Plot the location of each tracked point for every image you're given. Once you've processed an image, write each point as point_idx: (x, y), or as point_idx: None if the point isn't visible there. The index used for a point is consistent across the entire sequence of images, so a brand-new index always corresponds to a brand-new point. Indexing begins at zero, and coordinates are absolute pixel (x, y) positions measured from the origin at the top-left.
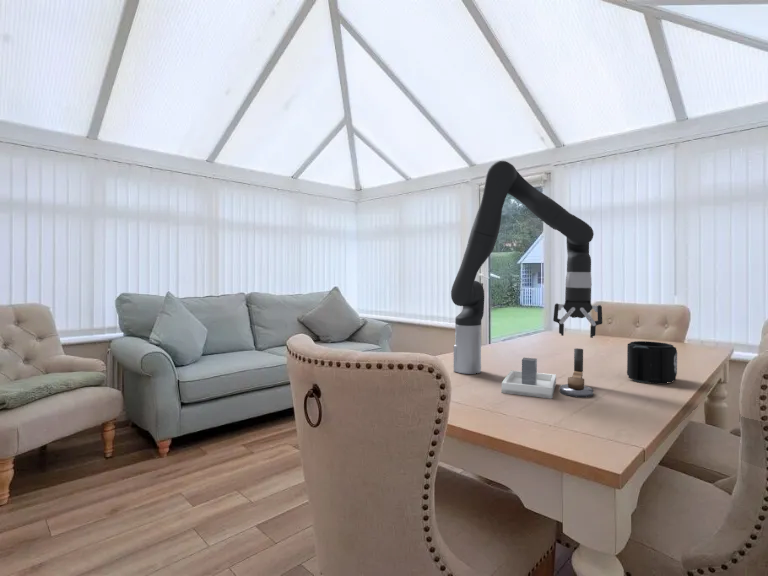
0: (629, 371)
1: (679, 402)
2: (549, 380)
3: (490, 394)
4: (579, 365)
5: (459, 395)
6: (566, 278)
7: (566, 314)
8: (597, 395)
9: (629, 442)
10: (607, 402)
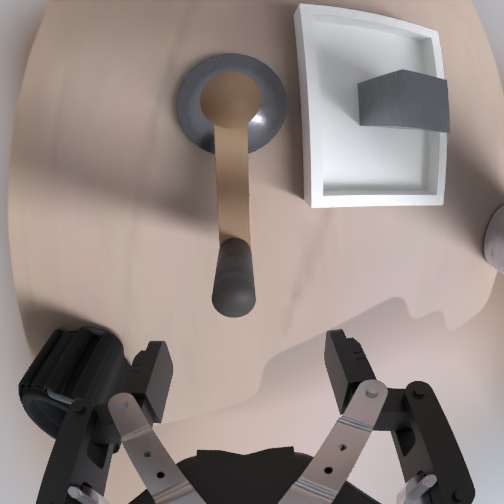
0: (113, 352)
1: (12, 175)
2: (326, 190)
3: (435, 20)
4: (229, 248)
5: (473, 8)
6: None
7: (353, 452)
8: (168, 114)
9: None
10: (141, 56)
